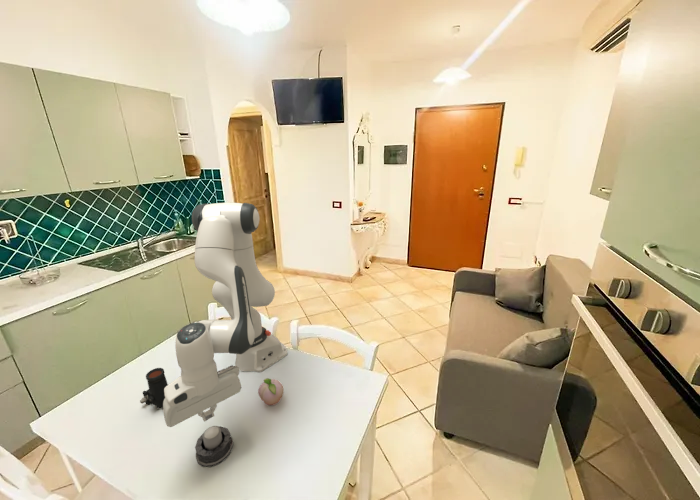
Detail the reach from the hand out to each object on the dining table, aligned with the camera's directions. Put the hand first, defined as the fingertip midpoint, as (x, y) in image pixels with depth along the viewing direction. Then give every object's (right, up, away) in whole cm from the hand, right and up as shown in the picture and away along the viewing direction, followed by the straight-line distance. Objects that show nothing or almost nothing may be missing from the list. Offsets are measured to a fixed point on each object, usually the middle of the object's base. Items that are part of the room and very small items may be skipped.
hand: (208, 417), depth 87 cm
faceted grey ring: (0, -12, +4) cm, 13 cm away
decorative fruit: (+13, -7, +21) cm, 26 cm away
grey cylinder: (0, -11, +4) cm, 12 cm away
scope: (-28, -7, +22) cm, 36 cm away
